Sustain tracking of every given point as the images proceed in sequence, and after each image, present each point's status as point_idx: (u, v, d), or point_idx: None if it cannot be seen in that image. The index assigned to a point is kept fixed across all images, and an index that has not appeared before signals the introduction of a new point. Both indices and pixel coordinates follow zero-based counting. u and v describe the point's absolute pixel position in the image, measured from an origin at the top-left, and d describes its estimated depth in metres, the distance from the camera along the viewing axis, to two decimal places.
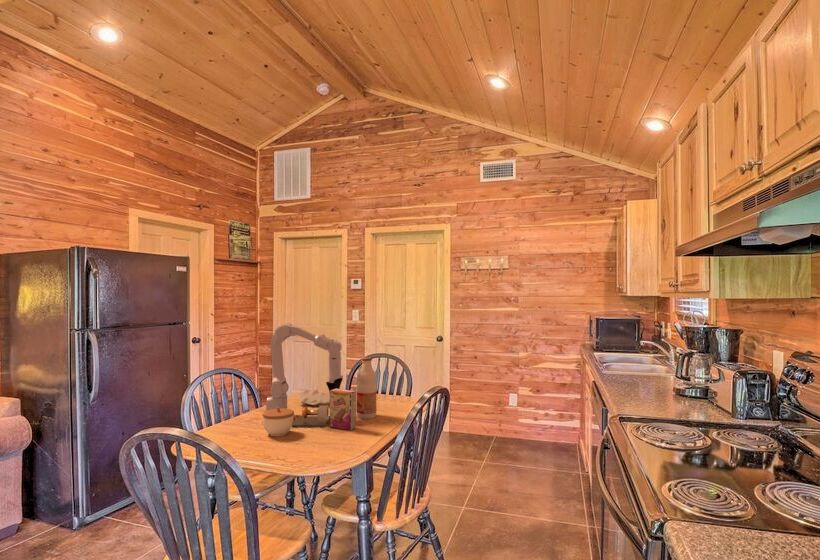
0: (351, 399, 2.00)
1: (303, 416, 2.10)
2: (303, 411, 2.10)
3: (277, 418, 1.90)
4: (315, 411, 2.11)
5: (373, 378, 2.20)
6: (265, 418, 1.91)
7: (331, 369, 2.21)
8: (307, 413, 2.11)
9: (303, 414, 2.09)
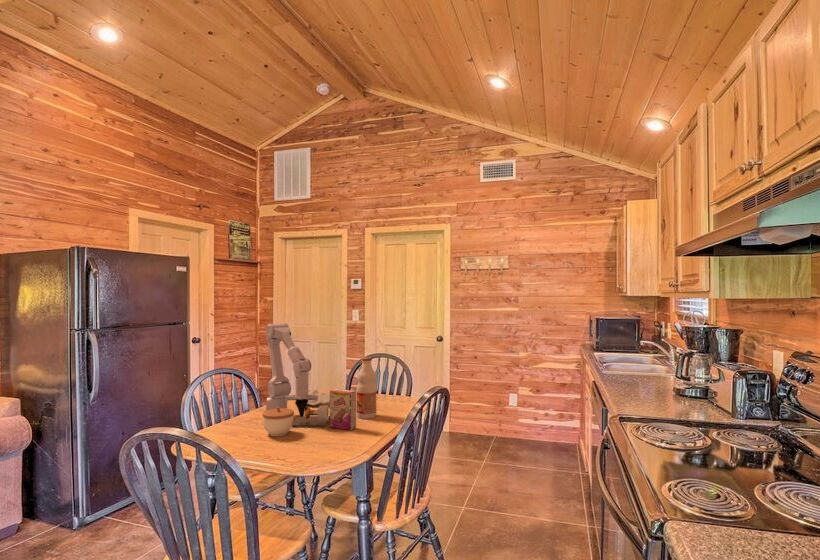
0: (351, 399, 2.00)
1: (306, 416, 2.10)
2: (306, 411, 2.10)
3: (277, 418, 1.90)
4: (317, 411, 2.11)
5: (373, 378, 2.20)
6: (265, 418, 1.91)
7: None
8: (310, 413, 2.11)
9: (306, 414, 2.09)
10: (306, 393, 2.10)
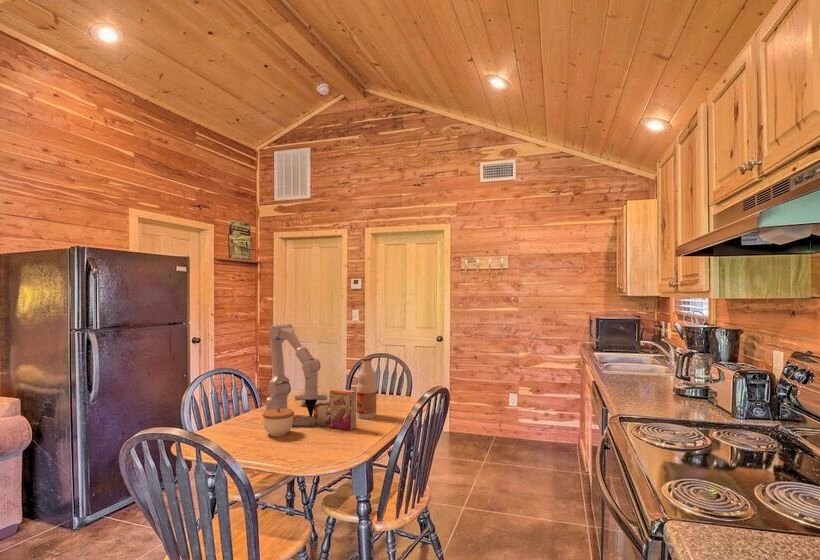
0: (351, 399, 2.00)
1: (314, 416, 2.10)
2: (314, 411, 2.10)
3: (277, 418, 1.90)
4: None
5: (373, 378, 2.20)
6: (265, 418, 1.91)
7: None
8: None
9: (314, 414, 2.09)
10: (315, 393, 2.10)
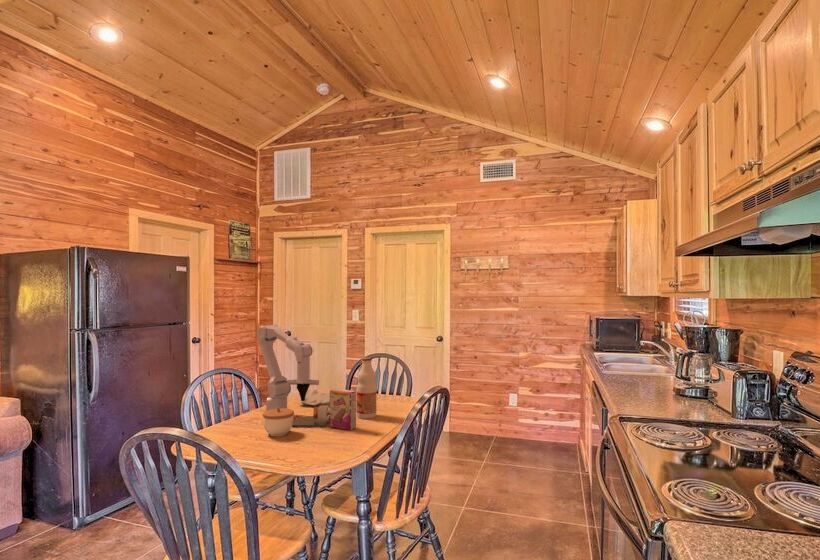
0: (351, 399, 2.00)
1: (314, 416, 2.10)
2: (314, 411, 2.10)
3: (277, 418, 1.90)
4: None
5: (373, 378, 2.20)
6: (265, 418, 1.91)
7: None
8: None
9: (314, 414, 2.09)
10: (307, 378, 2.14)
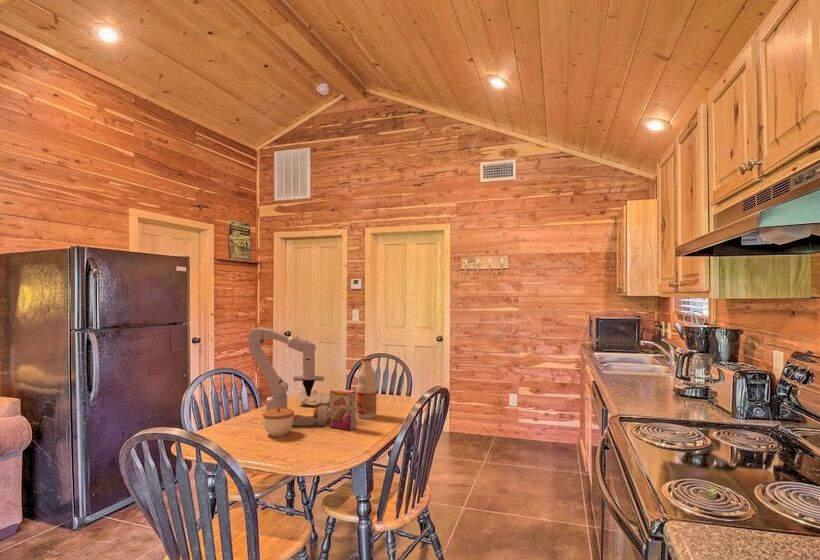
0: (351, 399, 2.00)
1: (314, 416, 2.10)
2: (314, 411, 2.10)
3: (277, 418, 1.90)
4: None
5: (373, 378, 2.20)
6: (265, 418, 1.91)
7: None
8: None
9: (314, 414, 2.09)
10: (313, 374, 2.23)
